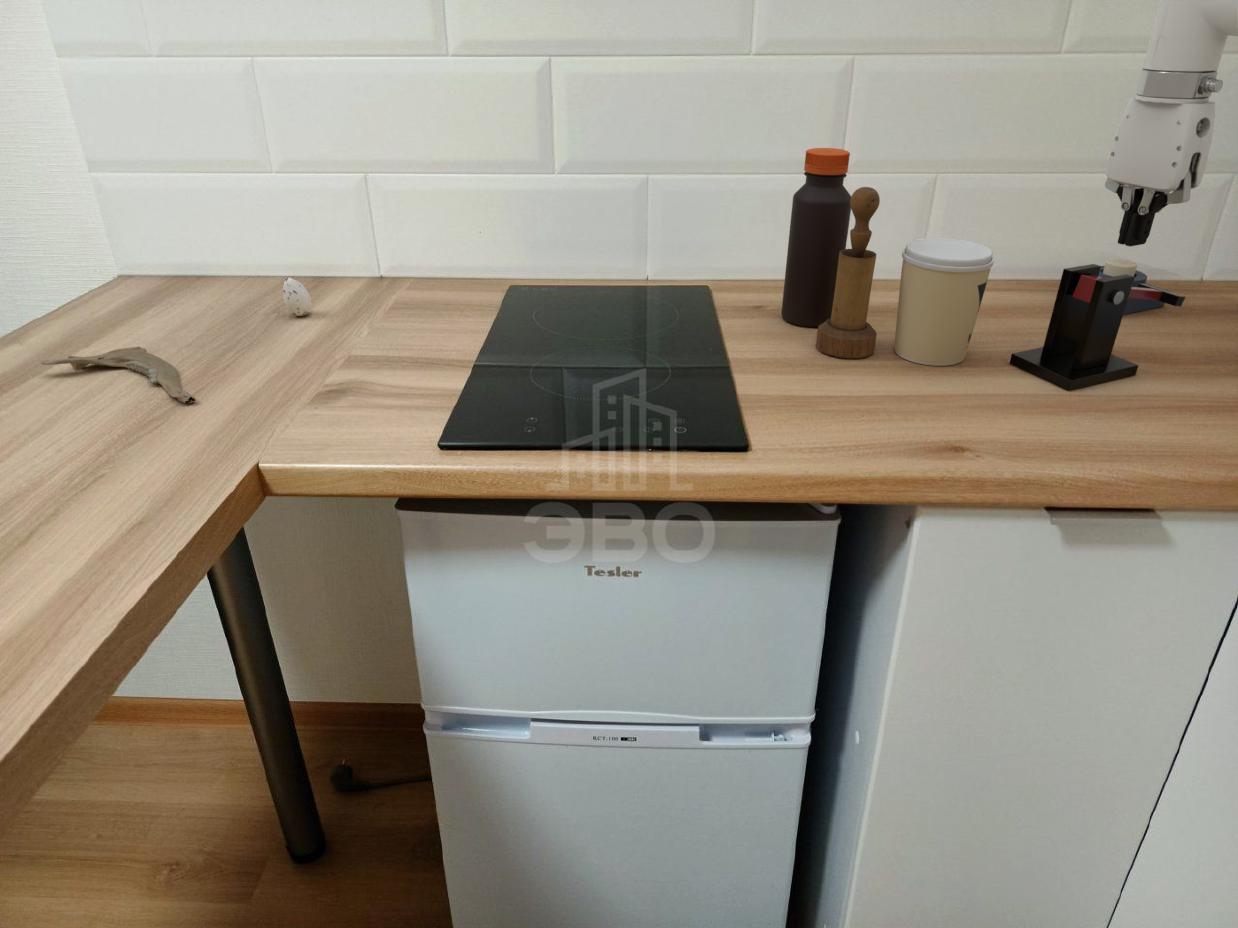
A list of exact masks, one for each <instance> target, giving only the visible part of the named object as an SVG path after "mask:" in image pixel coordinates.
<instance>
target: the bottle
mask: <svg viewBox="0 0 1238 928" xmlns="http://www.w3.org/2000/svg"><path fill="white" fill-rule="evenodd" d="M850 157H851V153H850V151H849V150H845V149H842V148H833V147H814V148H808V149H807V150H806V151H805V158H804V166H803V171H804V173H803V176H805V183H804V184H803V185H802V186H800V188H799V189H798V190H797V191H796V192H795V193H794V194H793V195H792V201H791V202H792V203H791V212H790V213H791V214H790V222H789V223H790V224H789V231H788V233H789V234H788V244H787V254H786V263H785V273H784V281H783V282H784V283H783V293H782V302H781V318H782V319H783V320H784V321H785V322H787V323H789V324H791V325H794V326H798V327H804V328H818V327H819V325H820V324H822V323H824V322H825V321H826V320H828V319H830V318H831V314H832V307H833V300H834V293H835V285H836V278H837V270H838V261H839V253H840V251H841V250H844V249H847V243H848V242H847V241H848V235H849V227H850V221H851V220H850V219H851V214H852V213H851V212H852V210H851V206H850V200H851V196H852V195H851V194H850V193H849V191H848V190H847V189H846V187H845V186H844V181H845V178H847V173H848V171H849V164H850Z"/></svg>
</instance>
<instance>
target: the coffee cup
mask: <svg viewBox="0 0 1238 928" xmlns="http://www.w3.org/2000/svg"><path fill="white" fill-rule="evenodd" d="M993 255H994V253H993V251H992V249H991V248H989V247H988V246H985V245H983V244H981V243H977V242H976V241H975V242H974V241H969V240H966V239H965V240H964V239H958V238H949V237H926V238H918V239H914V240H911V241H909V242H908V243H906V246H905V248H903V250H902V253H901V257H902V262H901V263H902V265H901V272H900V274H901V275H900V281H899V292H898V303H897V313H896V323H895V333H894V352H895V354H896V355H897V356H898V357H900V358H902V359H904V360H906V361H909V362H912V363H915V364H920V365H925V366H934V367H945V366H946V367H947V366H954V365H957V364H959V363H961V362H963V361H964V359H965V358H966V354H967V351H968V349H969V345H970V342H971V340H972V339H971V338H972V335H973V333H974V329H975V325H976V322H977V319H978V315H979V312H980V309H981V308H980V307H981V304H982V301H983V297H984V294H985V291H986V288H987V283H988V279H989V276H990V272H991V268H992V267H993V266H994V263H995V257H994V256H993Z"/></svg>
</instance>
